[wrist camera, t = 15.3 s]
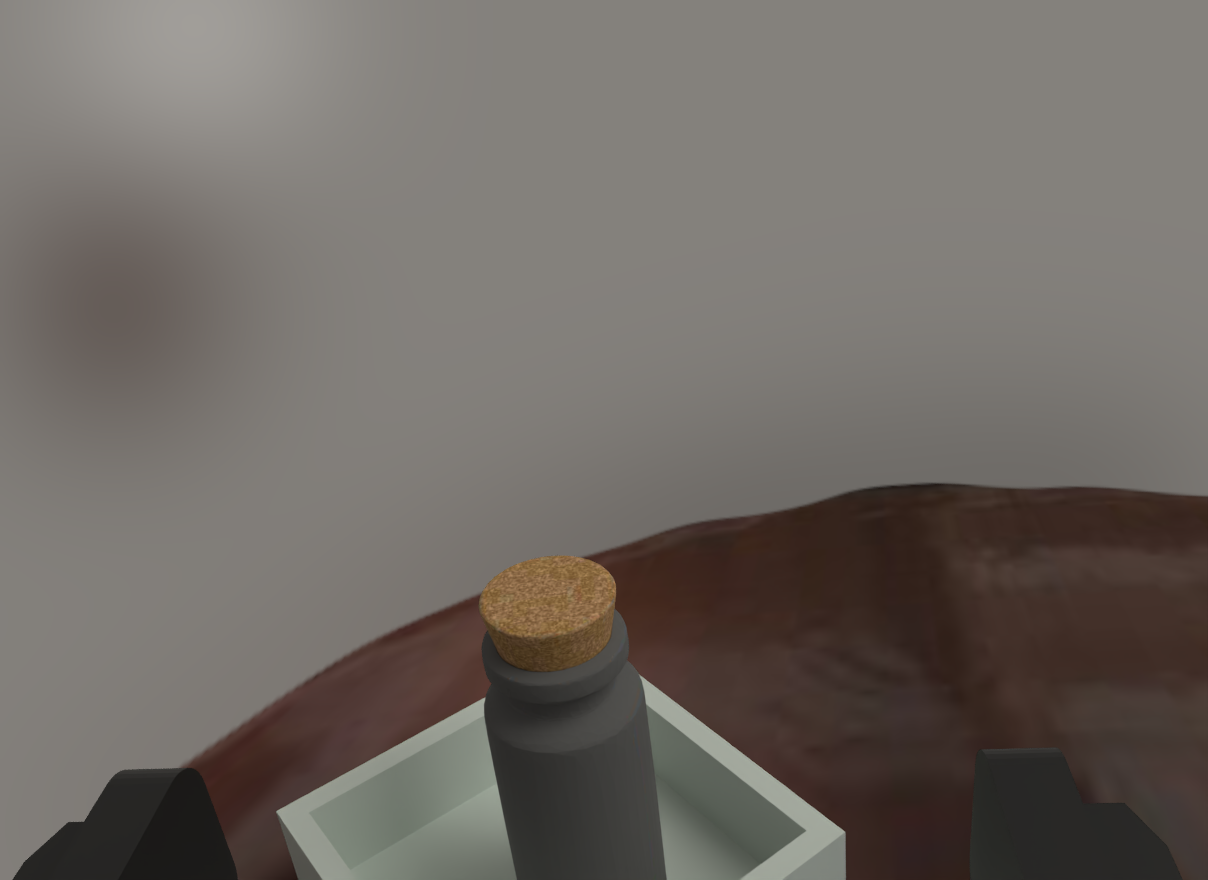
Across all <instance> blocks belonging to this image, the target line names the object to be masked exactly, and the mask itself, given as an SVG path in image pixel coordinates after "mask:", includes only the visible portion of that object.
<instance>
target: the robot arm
mask: <svg viewBox="0 0 1208 880" xmlns="http://www.w3.org/2000/svg"><path fill="white" fill-rule="evenodd" d="M970 879H971V880H1182V877H1181V875H1180V873H1179V871H1178V869H1177V866H1176V864H1175V862H1174V860H1173V858H1172V855H1171V853H1170V851H1169V849H1168V847H1167V845H1166V844H1165V843H1164V842H1163V841H1162V840H1161V839H1160V838H1159V837H1158V836H1157V835H1156V834H1155V833H1154V832H1153V831H1152V830H1151V829H1150V828H1149V827H1148V826H1147V825H1146V824H1145V823H1144V822H1143V821H1142V820H1141V819H1140V818H1139V817H1138V816H1137V815H1136V814H1135V813H1134V812H1133V811H1132V810H1131V809H1130V808H1129V807H1128V806H1127V805H1126V804H1125V803H1096V804H1083V803H1082V800H1081V797H1080V795H1079V792H1078V790H1077V787H1076V785H1075V782H1074V779H1073V777H1072V774H1071V772H1070V769H1069V766H1068V764H1067V762H1066V759H1065V757H1064V755H1063V754H1062V752H1061V751H1060V750H1059V749H1058V748H1024V749H986V750H979V751H978V753H977V756H976V764H975V779H974V795H973V812H972V828H971V845H970ZM13 880H238V878H237V872H236V867H235V864H234V861H233V858H232V856H231V853H230V850H229V848H228V845H227V842H226V839H225V837H224V834H223V831H222V829H221V826H220V823H219V820H218V818H217V815H216V812H215V810H214V807H213V804H212V802H211V799H210V796H209V793H208V791H207V788H206V785H205V783H204V780H203V778H202V776H201V775H200V774H199V772H197V771H196V770H195V769H192V768H173V769H137V770H123V771H120V772H118V773H117V774H115V775H114V776H113V777H112V779H111V780H110V781H109V782H108V784H107V785H106V787H105V789H104V790H103V792H102V794H101V795H100V797H99V798H98V800H97V802H96V803H95V805H94V806H93V808H92V810H91V811H90V813H89V815H88V816H87V818H86V819H85V821H84V822H68V823H67V824H66V825H65V826H64V827H63V828H61V829H60V830H59V831H58V832H57V833H56V834H55V835H54V836H53V837H51V838H50V839H49V840H48V841H47V842H46V843H45V844H44V845H43V846H41V847H40V848H39V849H38V850H37V851H36V852H35V853H34V854H33V855H31V856H30V857H29V858H28V859H27V860H26V861H25V862H24V863H23V865H22V866H21V868H20V869H19V871H18V872H17V874H16V875H15V877H14V879H13Z"/></svg>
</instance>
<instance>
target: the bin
mask: <svg viewBox="0 0 1208 880" xmlns="http://www.w3.org/2000/svg"><path fill="white" fill-rule="evenodd" d="M639 676H640V675H639ZM640 678H641V680H642V684H643V688H644V693H645V700H646V708H647V716H648V724H649V732H650V740H651V748H652V756H653V764H654V772H655V780H656V788H657V797H658V806H659V815H660V824H661V833H662V842H663V850H664V859H665V868H666V877H667V880H846V857H845V832H844V831H843V830H842V829H841V828H839V827H838V826H837V825H835V824H834V823H833V822H831V821H830V820H829V819H827V818H826V817H825V816H823V815H822V814H821V813H820V812H818V811H817V810H816V809H814V808H813V807H812V806H810V805H809V804H808V803H806V802H805V801H804V800H803V799H801V798H800V797H799V796H797V795H796V794H795V793H793V792H792V791H791V790H789V789H788V788H787V787H786V786H784V785H783V784H782V783H780V782H779V781H778V780H776V779H775V778H774V777H772V776H771V775H770V774H768V773H767V772H766V771H765V770H763V769H762V768H761V767H759V766H758V765H757V764H755V763H754V762H753V761H751V760H750V759H749V758H748V757H746V756H745V755H744V754H742V753H741V752H740V751H738V750H737V749H736V748H734V747H733V746H732V745H731V744H729V743H728V742H727V741H725V740H724V739H723V738H721V737H720V736H719V735H717V734H716V733H715V732H713V731H712V730H711V729H710V728H708V727H707V726H706V725H704V724H703V723H702V722H700V721H699V720H698V719H696V718H695V717H694V716H693V715H691V714H690V713H689V712H687V711H686V710H685V709H683V708H682V707H681V706H679V705H678V704H677V703H676V702H674V701H673V700H672V699H670V698H669V697H668V696H666V695H665V694H664V693H662V692H661V691H660V690H658V689H657V688H656V687H655V686H653V685H652V684H651V683H649V682H648V681H647V680H645V679H644V678H643V677H641V676H640ZM485 698H486V697H485ZM485 698H483V699H481V700H480V701H478V702H476V703H474V704H472V705H470V706H469V707H467V708H465V709H463V710H461V711H459V712H458V713H456V714H454V715H452V716H450V717H448V718H447V719H445V720H443V721H441V722H439V723H437V724H436V725H434V726H432V727H430V728H428V729H426V730H425V731H423V732H421V733H419V734H417V735H415V736H413V737H412V738H410V739H408V740H406V741H404V742H402V743H401V744H399V745H397V746H395V747H393V748H391V749H390V750H388V751H386V752H384V753H382V754H380V755H379V756H377V757H375V758H373V759H371V760H369V761H368V762H366V763H364V764H362V765H360V766H358V767H357V768H355V769H353V770H351V771H349V772H347V773H346V774H344V775H342V776H340V777H338V778H336V779H335V780H333V781H331V782H329V783H327V784H325V785H324V786H322V787H320V788H318V789H316V790H314V791H313V792H311V793H309V794H307V795H305V796H303V797H301V798H300V799H298V800H296V801H294V802H292V803H290V804H289V805H287V806H285V807H283V808H281V809H279V810H278V811H276V813H277V816H278V819H279V822H280V825H281V828H282V831H283V834H284V837H285V840H286V843H287V847H288V850H289V853H290V856H291V859H292V862H293V865H294V868H295V871H296V874H297V877H298V880H517V878H516V873H515V868H514V864H513V859H512V854H511V849H510V844H509V840H508V835H507V830H506V825H505V820H504V816H503V811H502V806H501V801H500V796H499V791H498V786H497V781H496V776H495V771H494V766H493V761H492V756H491V751H490V746H489V741H488V736H487V730H486V724H485V718H484V702H485Z"/></svg>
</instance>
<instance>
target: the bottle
mask: <svg viewBox="0 0 1208 880" xmlns="http://www.w3.org/2000/svg"><path fill="white" fill-rule="evenodd" d="M615 598H616V585H615V581H614V579H613V577H612V576H611V575H610V573H609V572H608V571H607V570H606V569H605V568H603V567H602V566H601V565H599V564H597V563H595V562H593V561H590V560H587V559H584V558H579V557H571V556H547V557H540V558H536V559H531V560H528V561H524V562H521V563H519V564H516V565H514V566H512V567H509V568H508V569H506V570H504V571H503V572H501V573H500V574H498V575H497V576H495V577H494V578H493V579H492V580H491V581H490V582H489V583H488V585H487V586H486V587H485V589H484V590H483V592H482V594H481V597H480V600H479V611H480V615H481V617H482V619H483V621H484V623H485V626H486V628H487V632H486V634H485V636H484V639H483V643H482V657H483V663H484V667H485V671H486V675H487V677H488V679H489V681H490V682H491V683H492V684H491V686H490V687H489V689H488V692H487V694H486V698H485V702H484V718H485V724H486V730H487V736H488V741H489V746H490V751H491V756H492V761H493V766H494V771H495V776H496V781H497V786H498V791H499V796H500V801H501V806H502V811H503V816H504V820H505V825H506V830H507V835H508V840H509V844H510V849H511V854H512V859H513V864H514V868H515V873H516V878H517V880H667V877H666V868H665V859H664V850H663V842H662V833H661V824H660V815H659V806H658V797H657V788H656V780H655V772H654V764H653V756H652V748H651V740H650V732H649V724H648V716H647V708H646V700H645V693H644V688H643V684H642V680H641V678H640V676H639V673H638V672H637V671H636V669H635V668H634V667H633V666H632V665H631V663H629V662H628V661H627V658H628V652H629V642H628V634H627V628H626V625H625V622H624V620H623V619H622V617H621V615H620V614H619V613H618V612H617V611H616V610H615V609H614V607H615Z"/></svg>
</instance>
